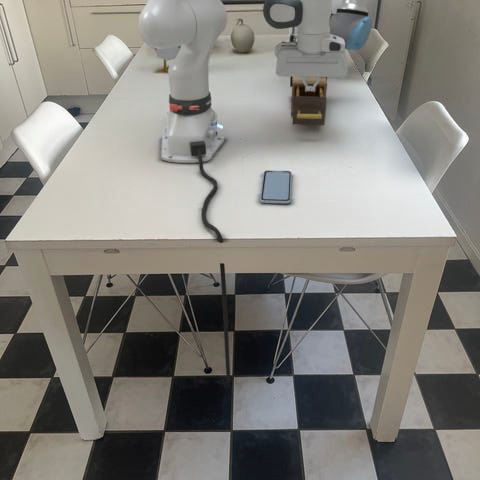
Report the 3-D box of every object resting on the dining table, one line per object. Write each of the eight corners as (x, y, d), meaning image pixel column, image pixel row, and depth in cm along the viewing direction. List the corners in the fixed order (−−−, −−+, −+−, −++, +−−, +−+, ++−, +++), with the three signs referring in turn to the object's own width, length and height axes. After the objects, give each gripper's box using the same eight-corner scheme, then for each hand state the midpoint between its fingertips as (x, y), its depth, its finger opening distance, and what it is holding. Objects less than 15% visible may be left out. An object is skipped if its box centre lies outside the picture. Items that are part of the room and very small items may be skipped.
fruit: (247, 46, 238) (247, 12, 230) (258, 52, 229) (258, 17, 221) (227, 49, 235) (225, 14, 226) (236, 55, 226) (235, 19, 218)
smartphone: (259, 200, 123) (263, 170, 135) (259, 204, 124) (263, 173, 136) (290, 201, 123) (291, 170, 134) (290, 204, 123) (291, 174, 135)
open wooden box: (324, 116, 165) (327, 83, 159) (290, 115, 166) (292, 83, 160) (322, 98, 182) (324, 68, 176) (291, 97, 183) (293, 68, 177)
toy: (155, 65, 218) (148, 2, 203) (198, 69, 211) (194, 5, 197) (145, 70, 212) (137, 6, 198) (190, 75, 205) (185, 9, 191)
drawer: (325, 131, 149) (327, 103, 145) (291, 130, 150) (293, 102, 146) (322, 106, 170) (324, 81, 166) (293, 106, 171) (294, 80, 167)
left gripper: (274, 44, 140) (273, 94, 148) (350, 45, 138) (345, 95, 146) (275, 38, 145) (274, 87, 153) (349, 39, 143) (344, 87, 151)
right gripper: (348, 14, 165) (342, 82, 178) (276, 14, 167) (274, 81, 180) (350, 20, 159) (343, 90, 172) (275, 19, 161) (273, 88, 174)
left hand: (310, 91), depth 150 cm, fingers closed
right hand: (308, 85), depth 176 cm, fingers closed on open wooden box, 11 cm apart
